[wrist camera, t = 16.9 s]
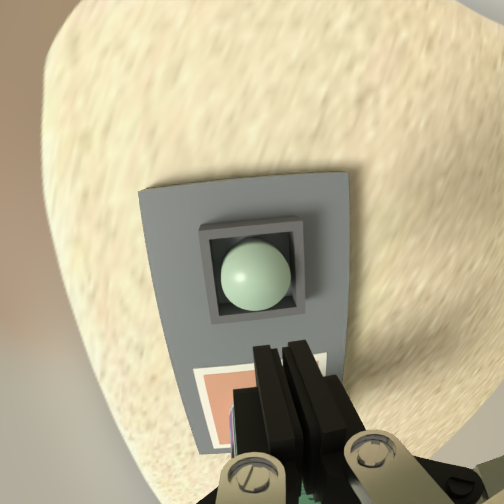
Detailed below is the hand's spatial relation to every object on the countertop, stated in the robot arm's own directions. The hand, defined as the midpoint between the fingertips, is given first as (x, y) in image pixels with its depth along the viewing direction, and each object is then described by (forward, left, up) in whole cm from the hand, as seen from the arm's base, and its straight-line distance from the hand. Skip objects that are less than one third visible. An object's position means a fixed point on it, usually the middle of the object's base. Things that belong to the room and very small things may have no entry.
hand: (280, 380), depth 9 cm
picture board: (-4, -3, -11) cm, 12 cm away
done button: (+1, 0, -9) cm, 9 cm away
